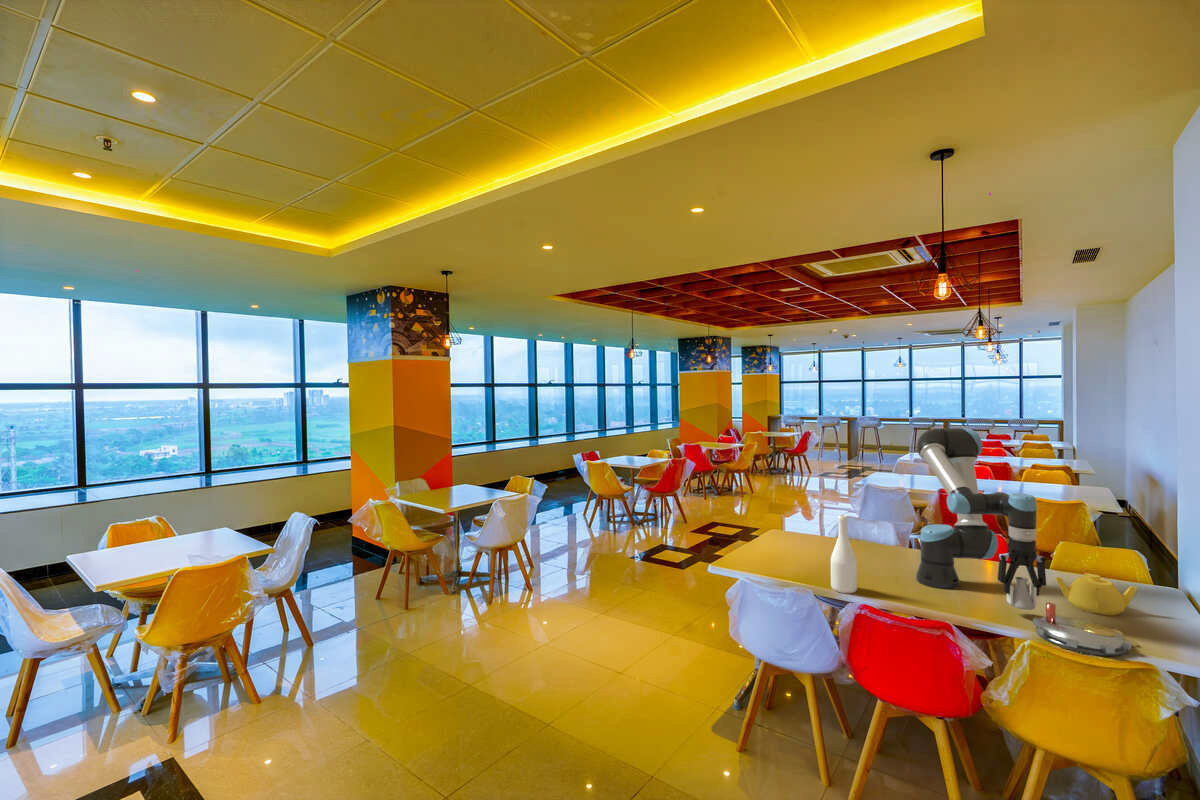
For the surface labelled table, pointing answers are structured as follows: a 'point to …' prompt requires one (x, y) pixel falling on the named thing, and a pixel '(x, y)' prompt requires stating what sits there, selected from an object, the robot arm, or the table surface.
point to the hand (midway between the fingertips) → (1021, 603)
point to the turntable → (1080, 632)
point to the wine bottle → (843, 561)
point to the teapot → (1096, 595)
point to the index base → (1087, 651)
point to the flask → (1022, 595)
